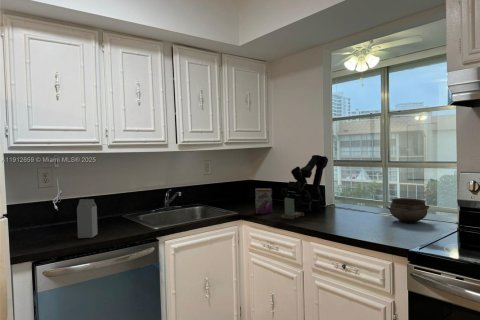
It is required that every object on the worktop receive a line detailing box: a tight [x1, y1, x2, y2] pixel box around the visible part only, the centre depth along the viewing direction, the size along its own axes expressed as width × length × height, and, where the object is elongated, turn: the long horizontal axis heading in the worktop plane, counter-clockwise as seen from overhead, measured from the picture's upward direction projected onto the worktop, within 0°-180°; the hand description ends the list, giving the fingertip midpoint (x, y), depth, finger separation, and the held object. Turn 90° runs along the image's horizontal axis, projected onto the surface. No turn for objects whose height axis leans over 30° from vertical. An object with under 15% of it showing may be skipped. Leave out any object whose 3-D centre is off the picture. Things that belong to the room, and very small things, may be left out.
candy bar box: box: [254, 188, 273, 215], centre depth 214 cm, size 11×5×16 cm, turn 84°
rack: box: [281, 211, 305, 220], centre depth 198 cm, size 13×8×2 cm, turn 138°
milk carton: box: [76, 198, 98, 239], centre depth 164 cm, size 7×7×19 cm
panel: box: [284, 197, 295, 216], centre depth 195 cm, size 2×6×12 cm, turn 48°
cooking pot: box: [386, 197, 430, 224], centre depth 181 cm, size 25×19×12 cm
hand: (290, 204), depth 196 cm, fingers open, 9 cm apart
